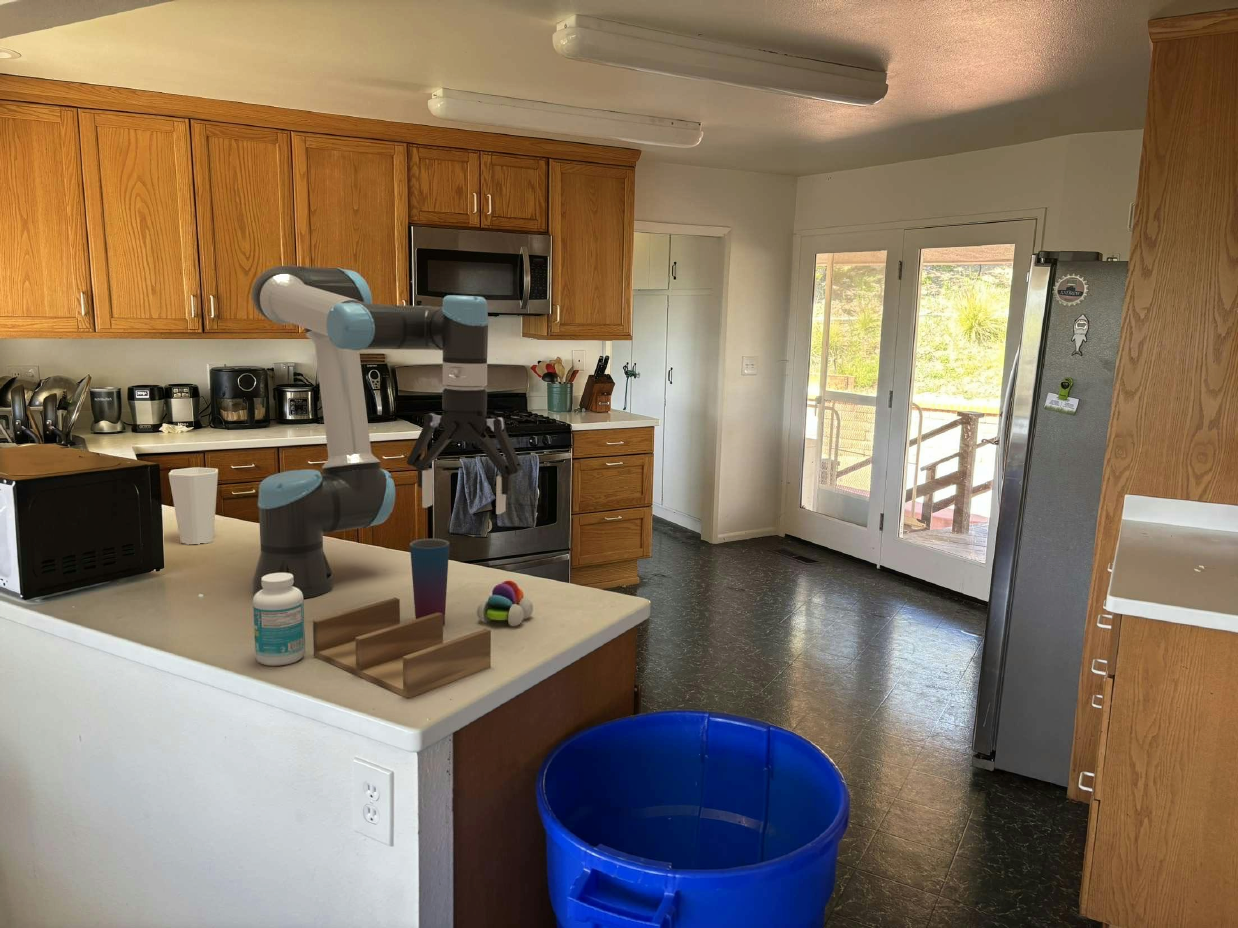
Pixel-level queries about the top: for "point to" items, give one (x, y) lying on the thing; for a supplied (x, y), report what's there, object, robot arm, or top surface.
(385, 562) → the top surface
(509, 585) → the rainbow disc stack
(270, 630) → the pill bottle
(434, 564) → the cup
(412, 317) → the robot arm
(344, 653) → the rack
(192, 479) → the cup
